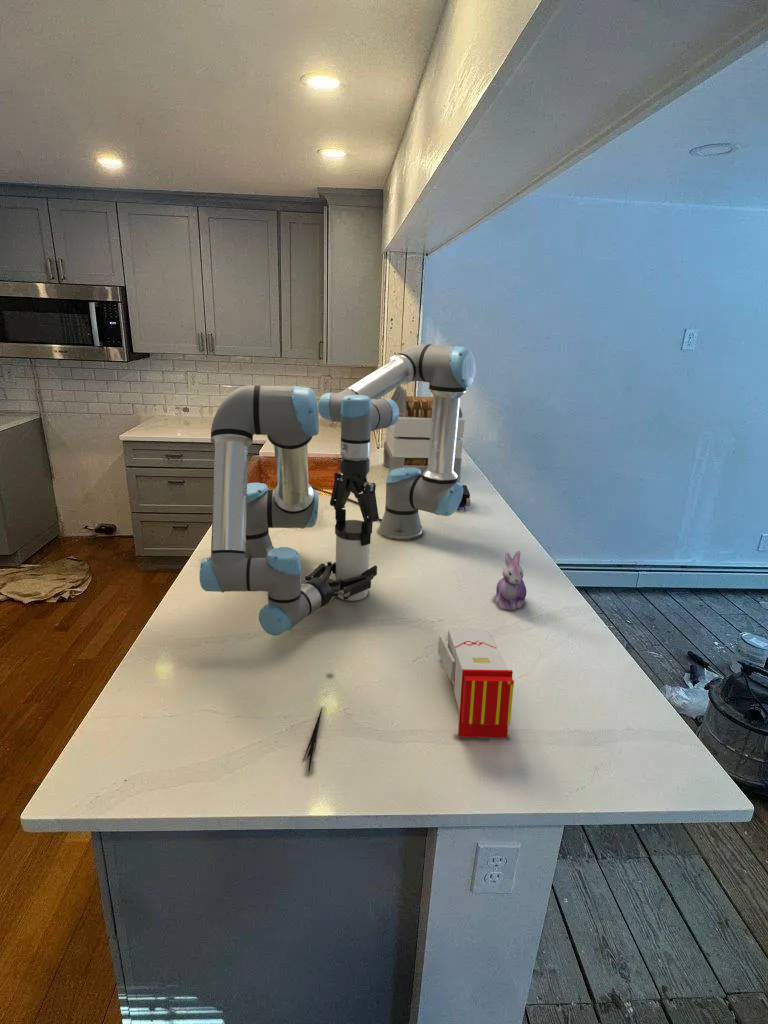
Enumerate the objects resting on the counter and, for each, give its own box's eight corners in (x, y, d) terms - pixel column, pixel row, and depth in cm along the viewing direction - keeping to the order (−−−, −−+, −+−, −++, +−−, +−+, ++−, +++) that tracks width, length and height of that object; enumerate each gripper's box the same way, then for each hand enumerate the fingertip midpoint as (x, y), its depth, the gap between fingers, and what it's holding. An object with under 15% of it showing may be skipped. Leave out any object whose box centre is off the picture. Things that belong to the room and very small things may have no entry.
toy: (488, 613, 130) (523, 677, 101) (484, 667, 133) (517, 744, 104) (435, 612, 130) (455, 676, 101) (432, 666, 133) (451, 743, 103)
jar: (367, 585, 162) (369, 522, 155) (367, 600, 153) (370, 535, 147) (336, 585, 161) (337, 522, 155) (334, 600, 153) (335, 534, 146)
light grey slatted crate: (382, 463, 289) (386, 382, 275) (445, 464, 293) (451, 384, 279) (390, 482, 257) (394, 392, 243) (460, 483, 261) (468, 394, 247)
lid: (344, 523, 157) (344, 517, 157) (376, 529, 154) (376, 523, 153) (328, 535, 149) (328, 529, 148) (362, 542, 145) (362, 535, 145)
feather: (331, 679, 122) (336, 673, 122) (307, 777, 96) (313, 769, 95) (324, 675, 122) (329, 669, 121) (298, 772, 95) (304, 764, 95)
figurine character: (470, 515, 225) (465, 499, 238) (472, 498, 221) (467, 483, 235) (453, 515, 224) (449, 499, 238) (455, 497, 221) (451, 482, 234)
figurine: (508, 614, 149) (515, 562, 144) (485, 597, 158) (490, 547, 153) (536, 607, 153) (543, 557, 148) (511, 591, 162) (518, 542, 157)
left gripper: (277, 597, 147) (329, 567, 165) (346, 623, 137) (393, 588, 155) (277, 571, 145) (330, 543, 163) (347, 595, 134) (395, 563, 152)
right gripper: (316, 450, 149) (316, 529, 157) (373, 469, 134) (370, 555, 142) (338, 446, 154) (337, 523, 162) (396, 464, 139) (391, 548, 147)
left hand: (361, 565), depth 159 cm, fingers closed on jar, 9 cm apart
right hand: (352, 538), depth 152 cm, fingers closed on lid, 10 cm apart
